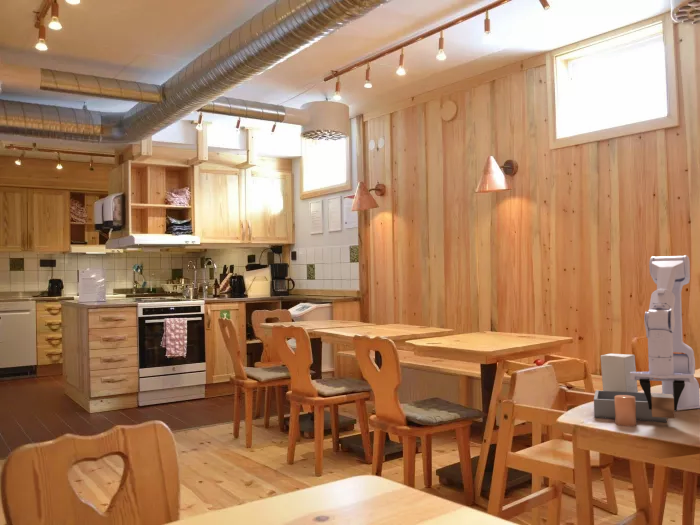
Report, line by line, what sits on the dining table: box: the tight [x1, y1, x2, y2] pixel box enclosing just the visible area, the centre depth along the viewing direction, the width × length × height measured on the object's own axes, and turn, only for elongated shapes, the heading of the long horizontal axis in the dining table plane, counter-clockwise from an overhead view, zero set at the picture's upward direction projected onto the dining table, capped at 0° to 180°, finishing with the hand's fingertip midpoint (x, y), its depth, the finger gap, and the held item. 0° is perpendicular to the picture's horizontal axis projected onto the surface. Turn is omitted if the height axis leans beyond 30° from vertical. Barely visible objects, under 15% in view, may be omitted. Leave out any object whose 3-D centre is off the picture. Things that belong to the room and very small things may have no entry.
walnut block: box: [651, 392, 675, 419], centre depth 159 cm, size 5×5×5 cm
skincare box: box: [600, 353, 639, 392], centre depth 186 cm, size 8×6×15 cm
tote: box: [593, 389, 667, 423], centre depth 172 cm, size 18×14×5 cm
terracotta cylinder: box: [614, 395, 637, 427], centre depth 163 cm, size 5×5×7 cm
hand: (662, 409), depth 159 cm, fingers closed on walnut block, 5 cm apart
